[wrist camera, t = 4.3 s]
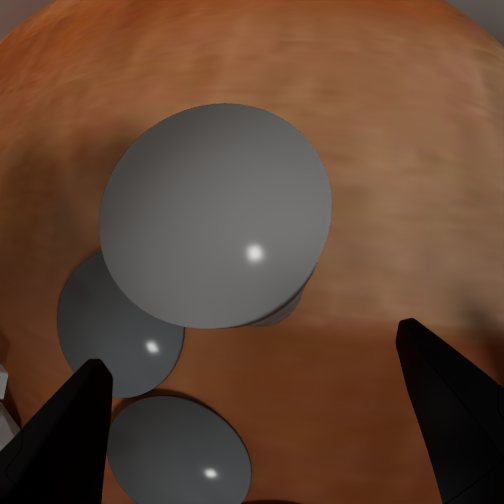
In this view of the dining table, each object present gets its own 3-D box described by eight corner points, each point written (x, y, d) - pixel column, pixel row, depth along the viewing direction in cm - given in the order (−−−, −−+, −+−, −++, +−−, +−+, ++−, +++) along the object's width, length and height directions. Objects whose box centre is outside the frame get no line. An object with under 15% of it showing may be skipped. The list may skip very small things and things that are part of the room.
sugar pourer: (268, 346, 19) (226, 382, 6) (198, 292, 20) (64, 232, 7) (322, 273, 19) (377, 174, 7) (251, 223, 20) (196, 77, 8)
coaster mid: (195, 540, 16) (193, 543, 15) (89, 455, 18) (85, 457, 17) (284, 459, 17) (284, 463, 16) (157, 363, 19) (154, 364, 19)
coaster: (130, 425, 18) (126, 427, 18) (42, 328, 20) (38, 328, 20) (216, 312, 19) (214, 312, 19) (111, 223, 22) (108, 221, 21)
